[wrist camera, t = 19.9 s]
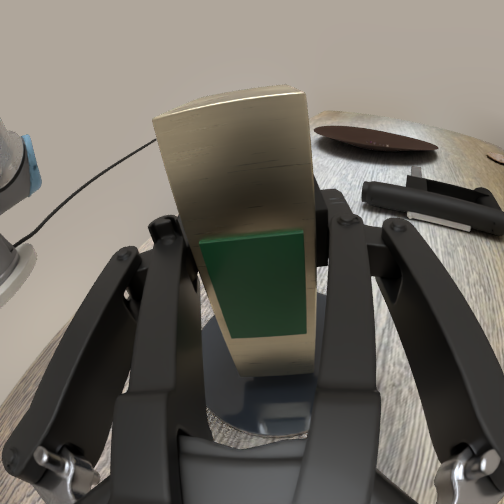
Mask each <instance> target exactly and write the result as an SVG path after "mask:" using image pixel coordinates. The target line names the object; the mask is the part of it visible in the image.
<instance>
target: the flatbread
mask: <svg viewBox="0 0 504 504" xmlns="http://www.w3.org/2000/svg"><path fill="white" fill-rule="evenodd" d="M487 155H488V156H489V157H491V158H492V159H494V160H496V161H498V162H501V163H504V156H503V155H500V154H496V153H492V152H487Z"/></svg>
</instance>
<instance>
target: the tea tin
mask: <svg viewBox="0 0 504 504" xmlns="http://www.w3.org/2000/svg"><path fill="white" fill-rule="evenodd" d="M152 122H153V126H154V130H155V133H156V137H157V141H158V145H159V148H160V152H161V155H162V159H163V162H164V166H165V169H166V173H167V176H168V180H169V183H170V186H171V190H172V193H173V196H174V199H175V202H176V205H177V209H178V212H179V215H180V218H181V221H182V224H183V227H184V230H185V233H186V236H187V239H188V242H189V245H190V248H191V251H192V254H193V257H194V260H195V263H196V265H197V268H198V271H199V274H200V277H201V279H202V282H203V285H204V288H205V290H206V293H207V296H208V298H209V301H210V304H211V306H212V309H213V311H214V314H215V317H216V319H217V322H218V324H219V327H220V329H221V332H222V334H223V337H224V339H225V342H226V344H227V347H228V349H229V351H230V354H231V356H232V359H233V361H234V363H235V366H236V368H237V370H238V373H239V375H240V377H258V376H279V375H294V374H305V373H313V372H314V360H315V338H316V300H317V256H316V217H315V195H314V178H313V163H312V150H311V139H310V128H309V118H308V109H307V101H306V94H305V92H303V91H300V90H298V89H296V88H293V87H291V86H289V85H276V86H267V87H258V88H251V89H245V90H238V91H232V92H226V93H221V94H216V95H211V96H206V97H202V98H199V99H196V100H194V101H191V102H189V103H187V104H184V105H181V106H179V107H177V108H175V109H172V110H170V111H168V112H166V113H163V114H161V115H159V116H157V117H155V118H153V119H152Z"/></svg>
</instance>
